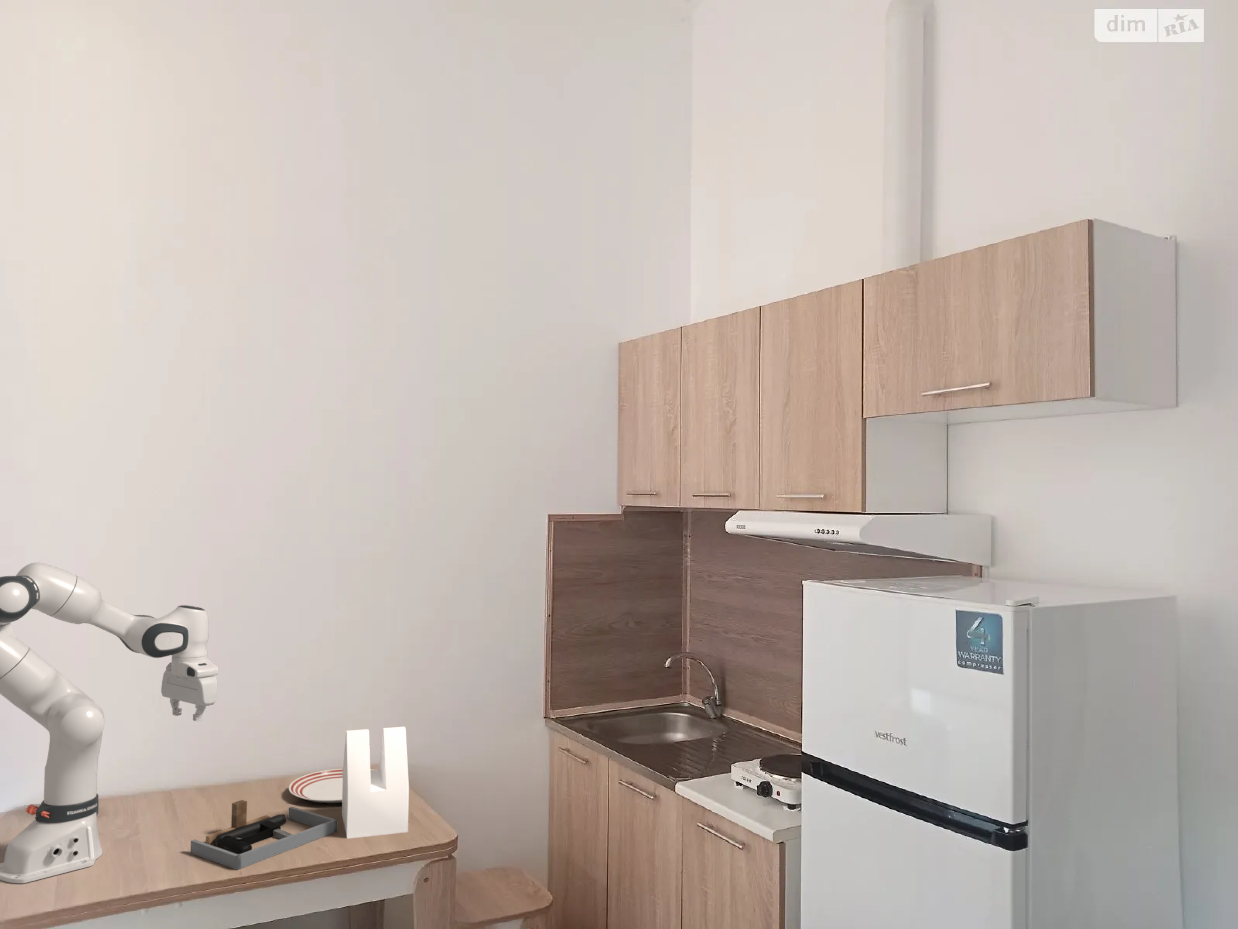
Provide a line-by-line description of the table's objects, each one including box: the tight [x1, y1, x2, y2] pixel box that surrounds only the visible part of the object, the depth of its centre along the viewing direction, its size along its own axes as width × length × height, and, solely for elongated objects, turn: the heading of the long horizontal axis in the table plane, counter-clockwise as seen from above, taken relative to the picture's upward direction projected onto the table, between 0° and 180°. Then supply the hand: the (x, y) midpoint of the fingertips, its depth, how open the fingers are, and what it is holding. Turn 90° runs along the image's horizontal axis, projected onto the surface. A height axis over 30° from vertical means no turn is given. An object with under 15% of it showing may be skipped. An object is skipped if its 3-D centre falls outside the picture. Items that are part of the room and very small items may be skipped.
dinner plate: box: [288, 768, 343, 804], centre depth 278 cm, size 28×27×3 cm
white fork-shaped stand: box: [341, 726, 410, 840], centre depth 255 cm, size 19×15×25 cm
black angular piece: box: [214, 813, 293, 855], centre depth 241 cm, size 3×20×16 cm
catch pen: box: [190, 806, 339, 870], centre depth 239 cm, size 30×18×3 cm, turn 148°
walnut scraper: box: [205, 799, 271, 846], centre depth 244 cm, size 18×2×8 cm, turn 149°
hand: (187, 718), depth 254 cm, fingers open, 8 cm apart
